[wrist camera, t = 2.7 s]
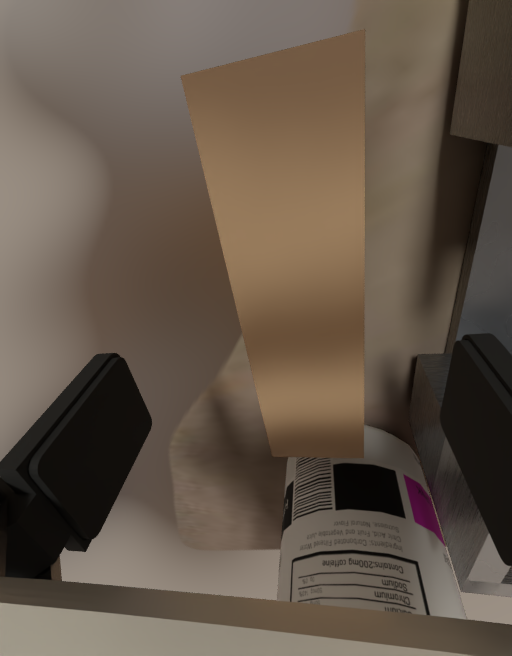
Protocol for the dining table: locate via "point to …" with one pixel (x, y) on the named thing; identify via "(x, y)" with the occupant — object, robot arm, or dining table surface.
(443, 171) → the dining table surface
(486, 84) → the bracket stand
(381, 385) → the dining table surface
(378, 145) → the dining table surface
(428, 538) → the supplement can
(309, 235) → the brown wooden block
